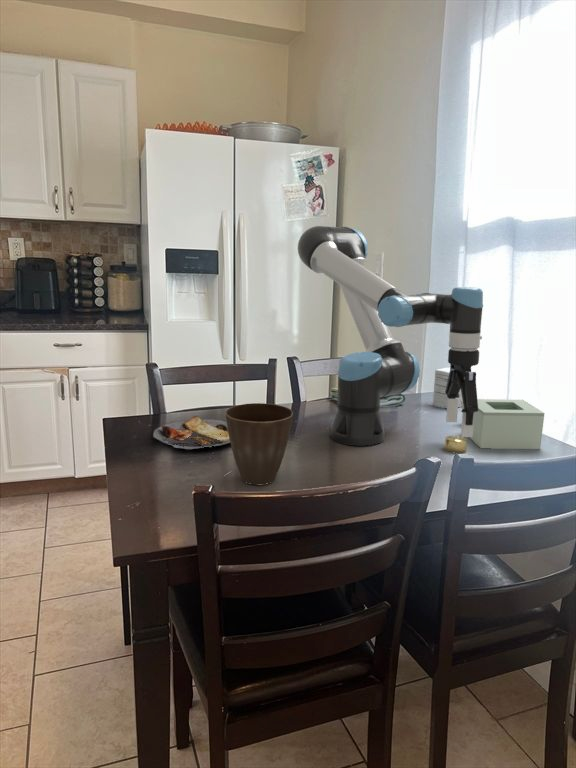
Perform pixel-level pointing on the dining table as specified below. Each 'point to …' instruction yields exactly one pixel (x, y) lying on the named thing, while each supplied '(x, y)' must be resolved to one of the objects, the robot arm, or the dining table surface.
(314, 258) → the robot arm
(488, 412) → the box
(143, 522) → the dining table surface
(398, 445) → the dining table surface
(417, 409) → the dining table surface
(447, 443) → the gold squat cylinder
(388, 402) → the towel
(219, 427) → the food plate
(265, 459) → the plant pot
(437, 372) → the supplement box
